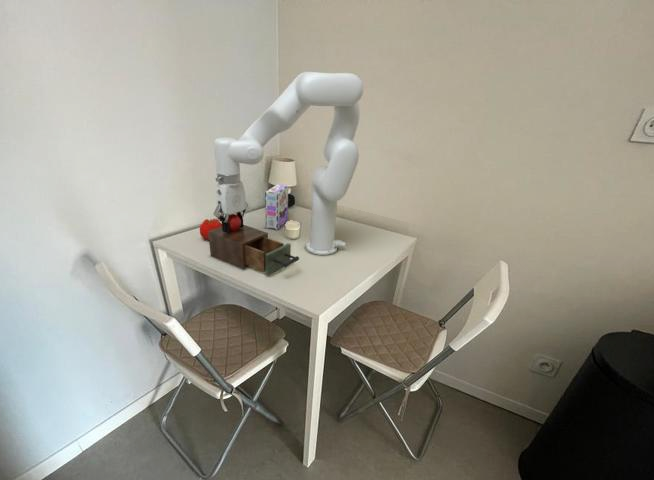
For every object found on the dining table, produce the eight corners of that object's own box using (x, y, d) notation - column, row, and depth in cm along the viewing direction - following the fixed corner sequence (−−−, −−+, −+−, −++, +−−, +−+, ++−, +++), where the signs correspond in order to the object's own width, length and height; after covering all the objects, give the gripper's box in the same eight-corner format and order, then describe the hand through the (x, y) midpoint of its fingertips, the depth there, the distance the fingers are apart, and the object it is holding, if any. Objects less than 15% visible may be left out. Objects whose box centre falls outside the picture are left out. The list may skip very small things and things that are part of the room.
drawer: (303, 268, 122) (303, 248, 118) (281, 282, 114) (281, 260, 109) (258, 251, 132) (257, 232, 127) (235, 262, 123) (233, 242, 119)
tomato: (219, 233, 147) (218, 216, 143) (227, 240, 141) (225, 223, 137) (197, 236, 142) (195, 219, 138) (204, 244, 136) (201, 226, 132)
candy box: (277, 230, 153) (277, 193, 144) (265, 228, 155) (264, 191, 146) (288, 220, 165) (288, 185, 156) (276, 218, 166) (276, 183, 157)
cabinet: (268, 257, 130) (268, 232, 125) (243, 269, 121) (241, 244, 116) (236, 245, 138) (234, 221, 133) (210, 256, 128) (207, 231, 123)
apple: (242, 227, 128) (241, 209, 124) (240, 233, 123) (238, 215, 119) (226, 226, 128) (224, 208, 124) (223, 233, 122) (221, 214, 119)
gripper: (216, 185, 107) (222, 239, 117) (255, 176, 120) (257, 225, 129) (200, 180, 111) (207, 233, 120) (239, 172, 123) (242, 220, 133)
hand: (233, 229), depth 125 cm, fingers closed on apple, 6 cm apart
